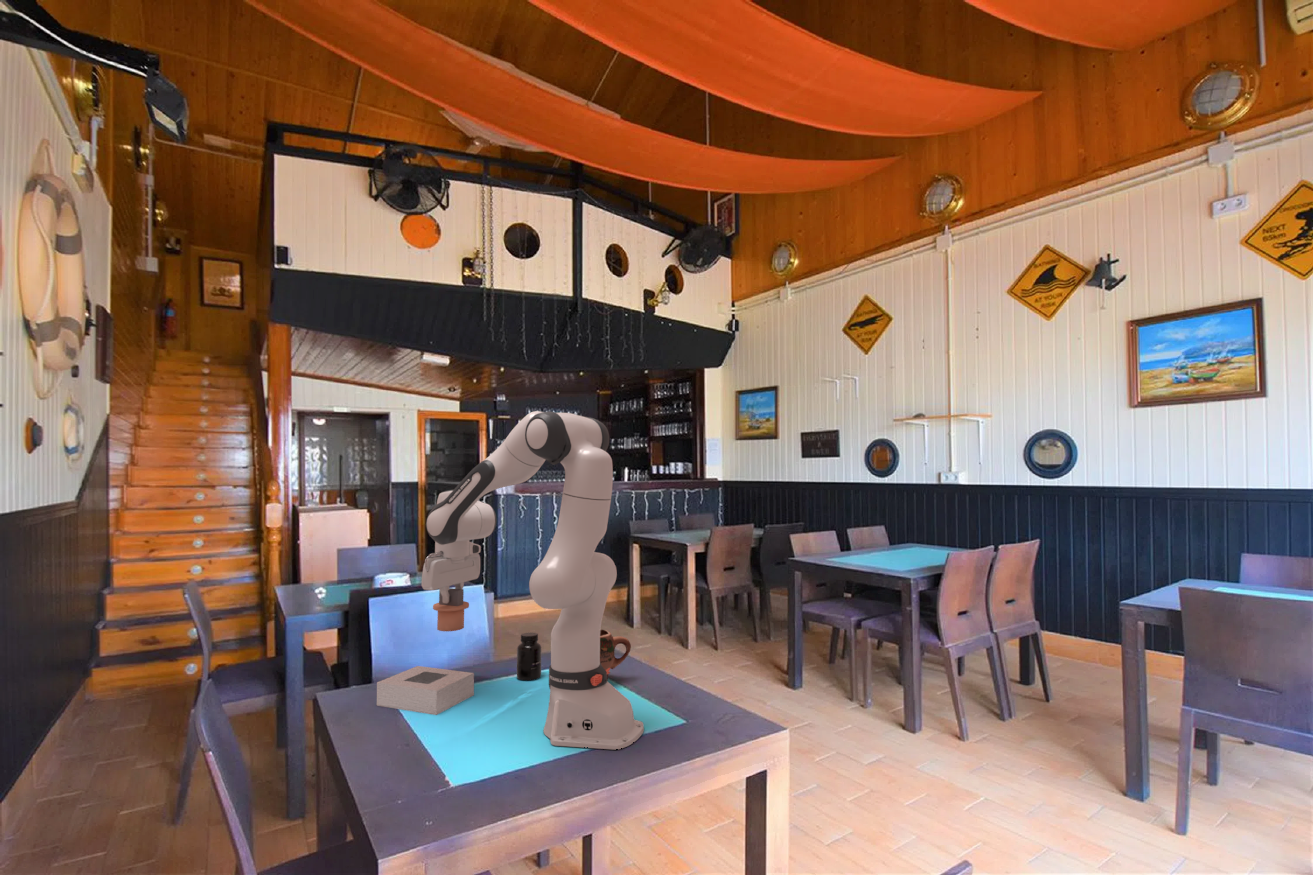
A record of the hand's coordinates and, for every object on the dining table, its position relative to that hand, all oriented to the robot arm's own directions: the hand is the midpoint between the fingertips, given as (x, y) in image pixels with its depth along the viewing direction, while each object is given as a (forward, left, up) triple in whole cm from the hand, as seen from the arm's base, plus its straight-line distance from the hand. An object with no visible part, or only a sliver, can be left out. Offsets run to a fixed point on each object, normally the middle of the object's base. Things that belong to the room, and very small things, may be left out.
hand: (451, 601), depth 172 cm
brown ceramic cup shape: (-34, -18, -24) cm, 45 cm away
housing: (-2, +12, -24) cm, 26 cm away
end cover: (0, 0, -7) cm, 7 cm away
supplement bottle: (-14, -16, -24) cm, 32 cm away
